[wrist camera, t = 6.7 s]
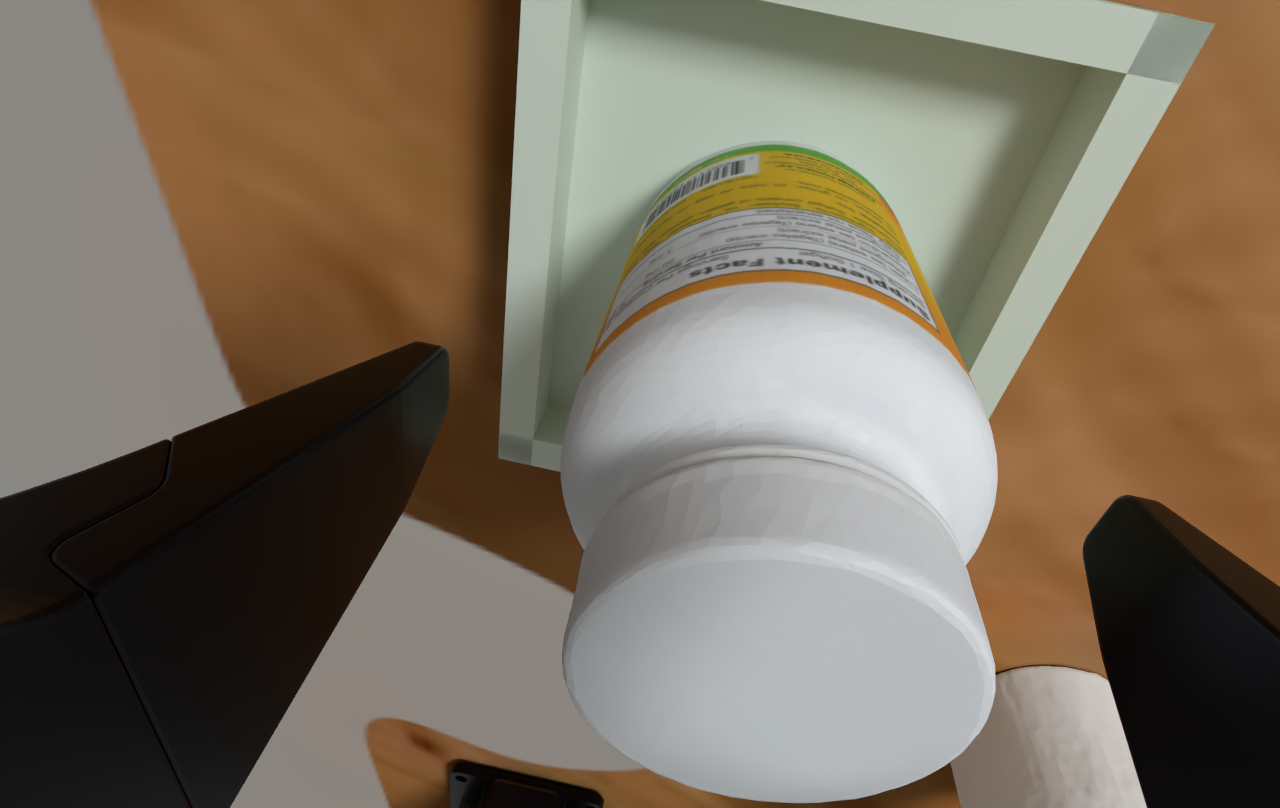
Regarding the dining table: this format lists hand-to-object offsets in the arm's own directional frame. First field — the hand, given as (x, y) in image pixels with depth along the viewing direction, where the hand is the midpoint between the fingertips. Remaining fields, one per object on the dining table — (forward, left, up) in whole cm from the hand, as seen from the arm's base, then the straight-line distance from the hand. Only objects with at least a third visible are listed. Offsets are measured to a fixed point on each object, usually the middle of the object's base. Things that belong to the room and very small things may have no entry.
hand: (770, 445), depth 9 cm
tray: (0, 0, -7) cm, 7 cm away
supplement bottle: (0, 0, -6) cm, 6 cm away
